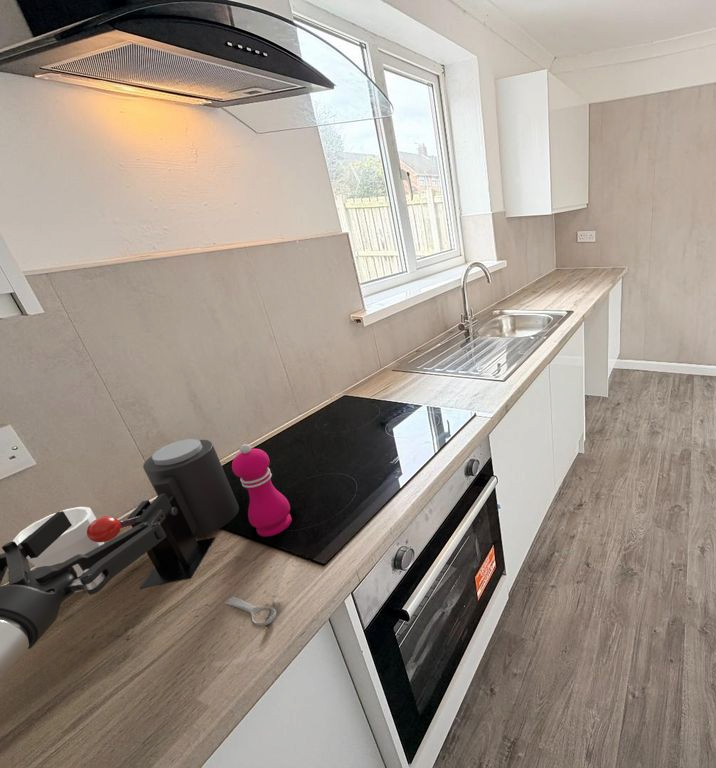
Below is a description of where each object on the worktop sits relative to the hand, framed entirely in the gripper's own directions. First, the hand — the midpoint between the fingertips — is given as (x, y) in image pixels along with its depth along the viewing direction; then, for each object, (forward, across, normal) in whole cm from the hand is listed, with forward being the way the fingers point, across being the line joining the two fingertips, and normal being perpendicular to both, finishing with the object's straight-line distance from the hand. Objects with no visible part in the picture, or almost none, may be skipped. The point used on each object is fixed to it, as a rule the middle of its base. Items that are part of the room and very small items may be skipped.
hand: (116, 509), depth 63 cm
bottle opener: (-8, +16, -18) cm, 26 cm away
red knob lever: (0, 0, -5) cm, 5 cm away
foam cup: (+7, -15, -18) cm, 25 cm away
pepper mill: (+11, +15, -18) cm, 26 cm away
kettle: (+18, 0, -18) cm, 25 cm away
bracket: (+6, 0, -18) cm, 19 cm away
